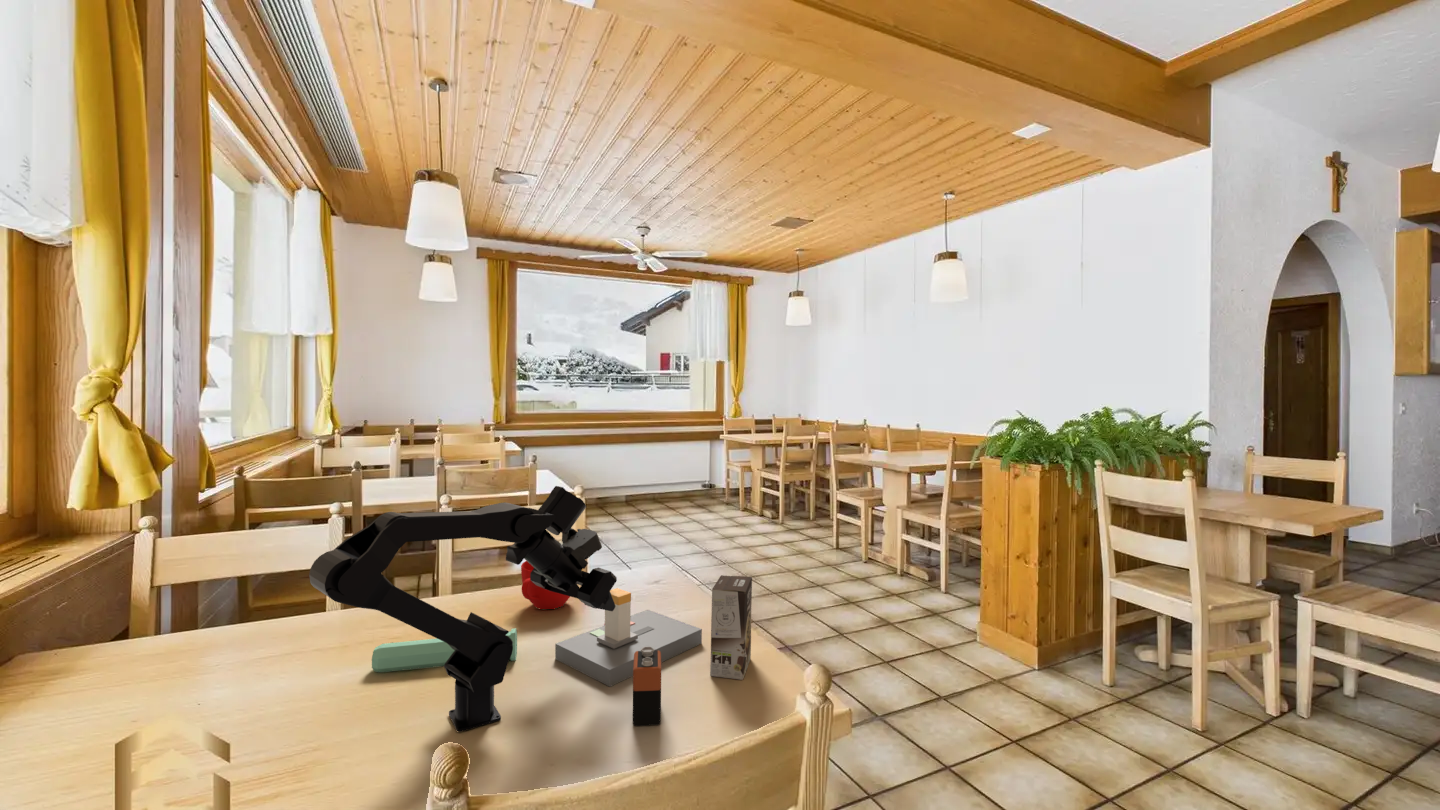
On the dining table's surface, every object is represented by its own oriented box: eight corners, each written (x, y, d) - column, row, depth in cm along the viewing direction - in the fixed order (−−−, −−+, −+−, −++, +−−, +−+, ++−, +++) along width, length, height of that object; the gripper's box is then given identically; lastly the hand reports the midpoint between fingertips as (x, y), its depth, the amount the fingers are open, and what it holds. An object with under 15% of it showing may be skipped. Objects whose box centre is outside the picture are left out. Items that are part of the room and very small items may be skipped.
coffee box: (744, 680, 111) (745, 591, 110) (709, 676, 112) (710, 588, 111) (751, 658, 119) (753, 576, 119) (719, 655, 121) (720, 573, 120)
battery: (660, 703, 102) (660, 644, 102) (660, 726, 96) (661, 662, 95) (633, 704, 102) (634, 644, 102) (632, 727, 95) (633, 663, 95)
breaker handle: (613, 648, 115) (614, 599, 115) (596, 641, 118) (597, 593, 118) (637, 638, 120) (638, 591, 119) (620, 631, 123) (621, 585, 123)
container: (368, 642, 111) (515, 627, 117) (377, 641, 116) (517, 628, 122) (365, 677, 109) (514, 661, 115) (374, 676, 114) (516, 660, 120)
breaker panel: (609, 686, 108) (609, 668, 107) (555, 659, 118) (555, 642, 118) (701, 643, 126) (701, 628, 126) (647, 622, 136) (647, 608, 136)
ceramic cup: (498, 617, 138) (498, 573, 138) (541, 593, 154) (541, 553, 154) (549, 625, 134) (549, 579, 134) (587, 599, 150) (588, 558, 150)
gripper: (608, 526, 104) (655, 576, 113) (544, 510, 116) (591, 556, 125) (569, 583, 99) (621, 631, 107) (506, 560, 111) (557, 605, 120)
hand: (597, 602), depth 115 cm, fingers open, 9 cm apart
